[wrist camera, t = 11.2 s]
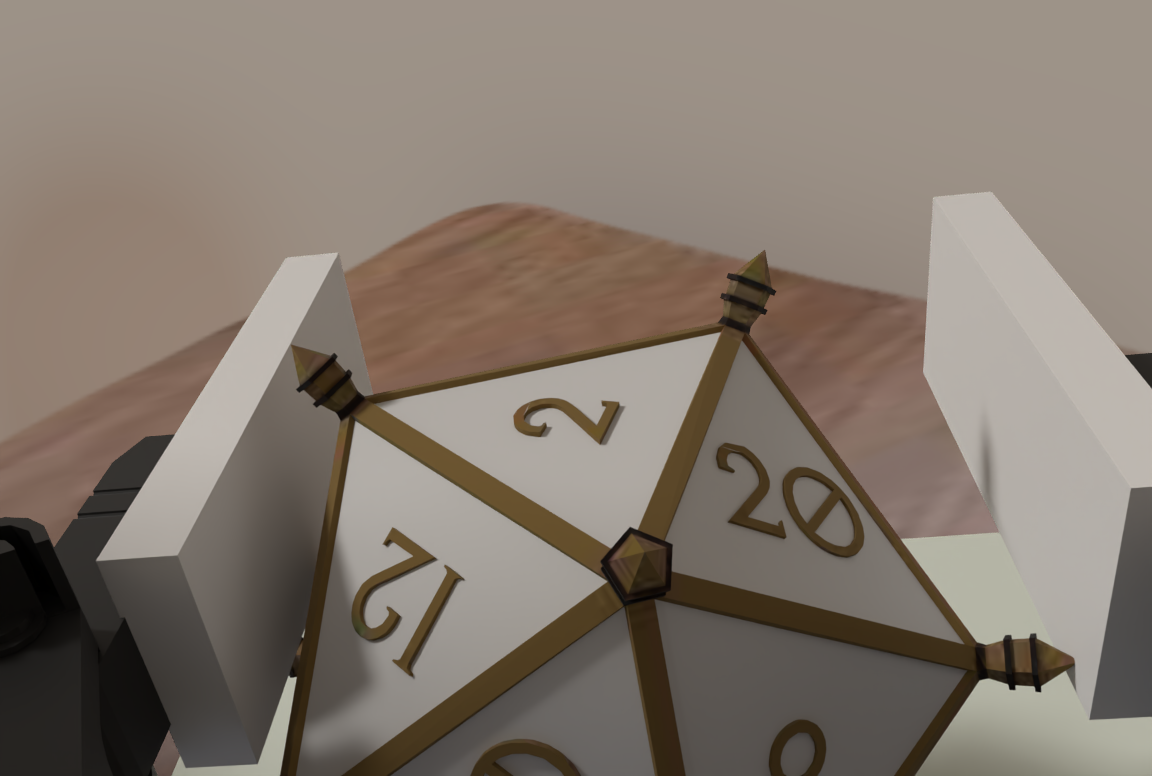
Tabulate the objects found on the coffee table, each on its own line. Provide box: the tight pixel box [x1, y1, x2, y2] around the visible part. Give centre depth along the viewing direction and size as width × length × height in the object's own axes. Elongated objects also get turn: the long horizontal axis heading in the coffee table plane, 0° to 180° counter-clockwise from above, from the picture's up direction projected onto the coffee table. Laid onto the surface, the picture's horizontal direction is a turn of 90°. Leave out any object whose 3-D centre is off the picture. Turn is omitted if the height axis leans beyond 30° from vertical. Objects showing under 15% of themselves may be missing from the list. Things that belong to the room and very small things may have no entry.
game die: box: [280, 250, 1075, 776], centre depth 13 cm, size 9×8×10 cm
